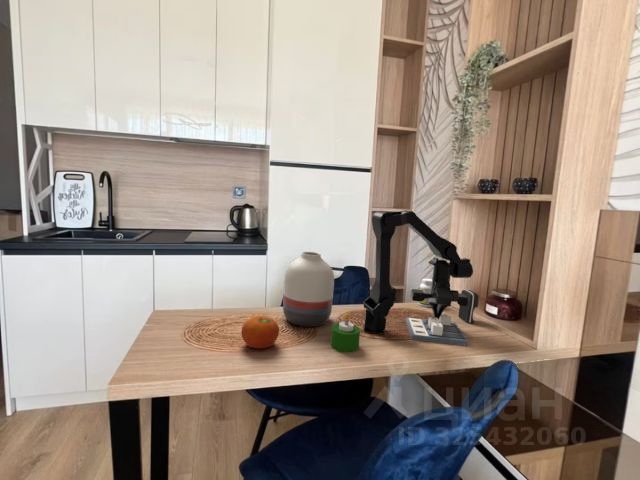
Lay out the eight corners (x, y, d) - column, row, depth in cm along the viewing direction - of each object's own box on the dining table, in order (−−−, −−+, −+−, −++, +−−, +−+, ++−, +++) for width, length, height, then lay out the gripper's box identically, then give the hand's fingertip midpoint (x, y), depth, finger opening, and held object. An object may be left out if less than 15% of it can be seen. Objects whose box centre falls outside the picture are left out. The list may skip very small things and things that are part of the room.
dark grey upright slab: (477, 323, 131) (481, 294, 130) (467, 323, 131) (471, 293, 129) (466, 316, 138) (470, 288, 137) (457, 316, 138) (461, 288, 136)
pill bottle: (424, 302, 154) (427, 277, 152) (436, 306, 149) (439, 280, 147) (414, 303, 151) (417, 278, 149) (426, 308, 145) (429, 282, 144)
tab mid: (429, 328, 118) (430, 319, 118) (427, 325, 121) (428, 316, 121) (438, 329, 118) (439, 320, 118) (436, 326, 121) (437, 317, 121)
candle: (326, 341, 107) (328, 310, 105) (350, 338, 110) (353, 308, 109) (338, 354, 99) (340, 320, 98) (363, 350, 103) (366, 317, 101)
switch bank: (411, 339, 113) (412, 333, 113) (405, 321, 129) (406, 316, 128) (466, 345, 111) (467, 339, 111) (453, 326, 127) (454, 321, 127)
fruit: (236, 340, 103) (237, 314, 102) (269, 335, 108) (270, 310, 107) (248, 356, 94) (249, 328, 93) (284, 350, 99) (285, 323, 98)
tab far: (441, 324, 123) (442, 316, 122) (439, 321, 126) (440, 313, 125) (450, 325, 122) (451, 316, 122) (448, 322, 125) (449, 314, 125)
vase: (313, 334, 111) (318, 260, 108) (271, 320, 120) (275, 252, 117) (339, 319, 126) (345, 254, 122) (300, 308, 134) (304, 247, 131)
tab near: (432, 334, 113) (433, 325, 113) (430, 330, 116) (431, 321, 116) (442, 335, 113) (443, 326, 113) (440, 331, 116) (441, 322, 116)
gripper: (417, 281, 115) (412, 326, 117) (477, 286, 113) (470, 332, 116) (412, 273, 126) (408, 315, 128) (466, 278, 124) (461, 320, 127)
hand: (436, 320), depth 124 cm, fingers closed
